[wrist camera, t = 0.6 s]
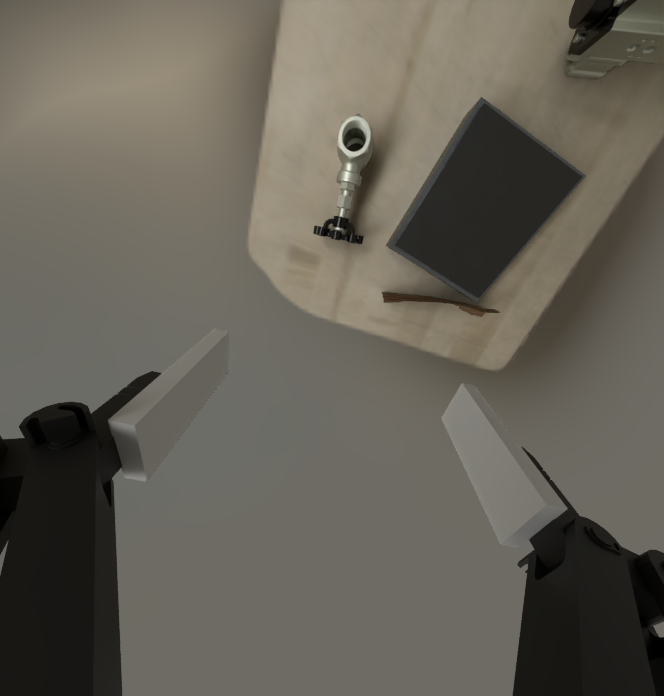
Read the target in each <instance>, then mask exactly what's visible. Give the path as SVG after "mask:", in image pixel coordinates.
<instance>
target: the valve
mask: <svg viewBox="0 0 664 696" xmlns="http://www.w3.org/2000/svg"><path fill="white" fill-rule="evenodd" d="M354 143H359V144H361V145H362V146H363V148H362V149H360V150H359V151H356V152H351V151H349V150H347V149H348V148H349V146H350V145H352V144H354ZM373 146H374V143H373V137H372V128H371V127H370V126H369V124H368V123H367V122H366V121H365V120H364V119H363V118H362V117H361V116H360V115H359V114H357V115H355V116H352V117H350V118H348V119H346V120H344V121H343V122H341V125H340V130H339V136H338V142H337V152H338V157H339V159H340V161H341V163H342V167H341V171H338V174H337V180H336V181H337V182H338V183H340V184H341V186H340V189H341V190H342V194H341V195H339V197H338V203H337V207H338V208H340V209H339V214H338V216H334V219H328V220H326V221H325V223H324V226H323V227H319V226H314V234H317V235H319V236H324V237H325V236H328V237H331V238H332V239H336V240H341V239H342V240H346V241H347V242H351V243H357V244H362V242H363V238H364V236H360V235H359V239H357V237H358V235H356V234H354V232H355V229H354V226H353V225H352V224H351V223H349V219H347V218H346V213H347V210H350V208H351V203H352V197H351V193H352V192H354V188H355V187H360V185H361V180H362V176H360V171H361V169H364V168H366V167H367V163H368V161H369V160H370V158H371V156H372V153H373ZM331 223H332V224H333V225H332V226H333V227H332V228H333V231H330V229H328V226H329V224H331ZM348 227H349V235H345V231H347V228H348Z"/></svg>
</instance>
